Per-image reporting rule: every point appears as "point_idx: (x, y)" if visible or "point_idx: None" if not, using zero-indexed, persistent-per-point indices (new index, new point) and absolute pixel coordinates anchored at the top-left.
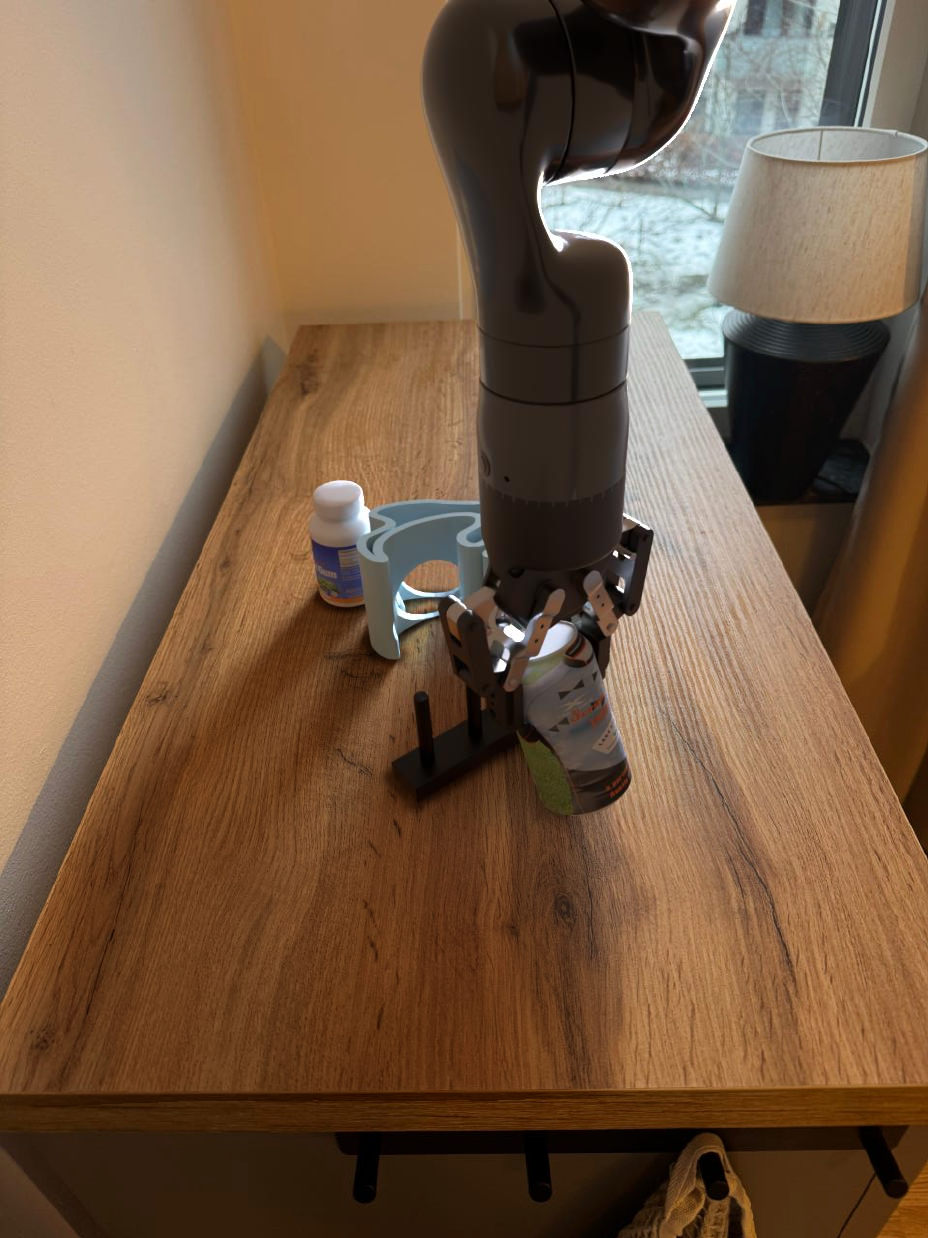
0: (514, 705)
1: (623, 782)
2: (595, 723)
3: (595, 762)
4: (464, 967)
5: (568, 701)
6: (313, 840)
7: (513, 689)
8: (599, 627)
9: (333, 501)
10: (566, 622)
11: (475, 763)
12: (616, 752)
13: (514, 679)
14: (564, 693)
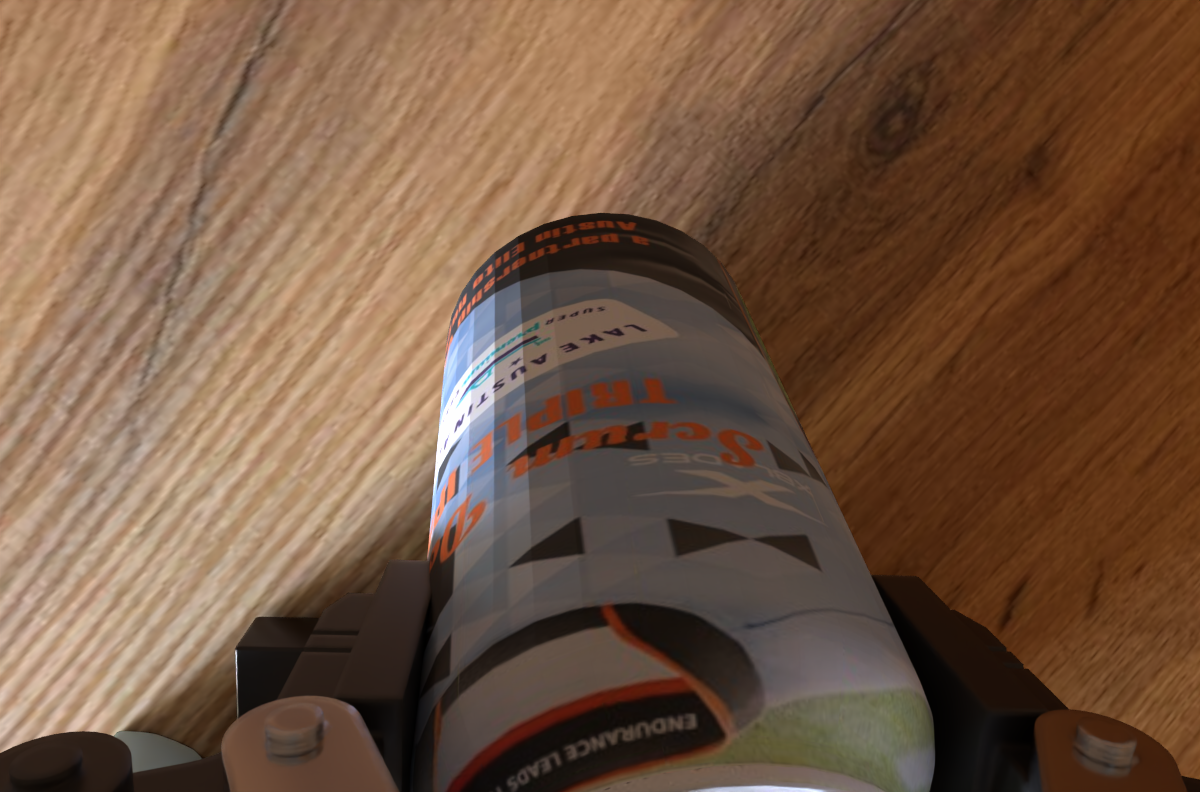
0: (987, 652)
1: (562, 234)
2: (642, 383)
3: (671, 303)
4: (1193, 171)
5: (768, 510)
6: (1175, 701)
7: (1069, 714)
8: (387, 775)
9: None
10: None
11: None
12: (556, 295)
13: (1104, 758)
14: (793, 547)
